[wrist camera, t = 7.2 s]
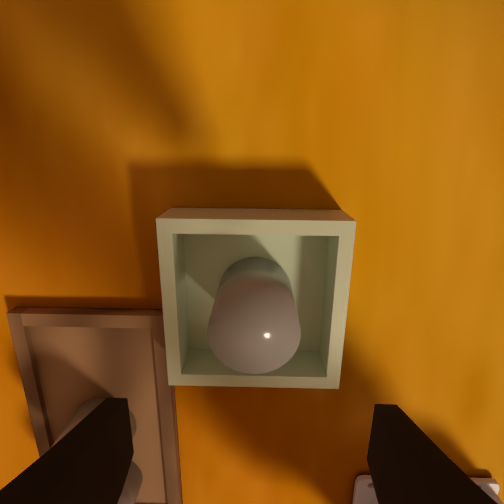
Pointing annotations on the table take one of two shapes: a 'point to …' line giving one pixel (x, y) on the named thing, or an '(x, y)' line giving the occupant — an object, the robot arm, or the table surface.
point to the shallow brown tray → (102, 381)
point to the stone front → (254, 317)
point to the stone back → (131, 485)
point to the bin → (266, 246)
